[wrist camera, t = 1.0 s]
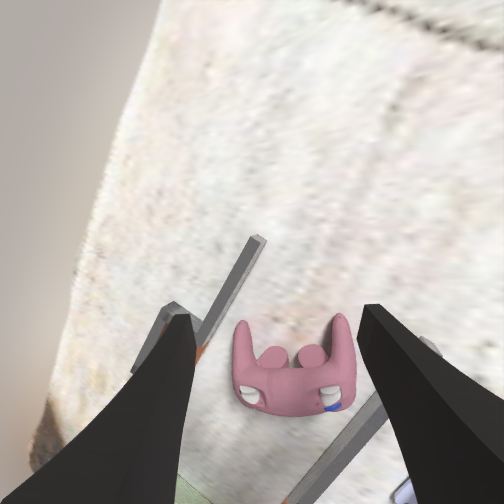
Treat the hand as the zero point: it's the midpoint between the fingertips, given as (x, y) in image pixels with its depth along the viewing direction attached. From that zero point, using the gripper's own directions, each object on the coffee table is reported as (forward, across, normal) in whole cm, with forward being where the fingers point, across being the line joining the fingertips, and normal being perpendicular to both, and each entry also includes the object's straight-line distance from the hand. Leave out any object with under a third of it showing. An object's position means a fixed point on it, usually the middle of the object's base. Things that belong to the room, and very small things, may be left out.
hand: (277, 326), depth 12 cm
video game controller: (+8, -3, +12) cm, 14 cm away
